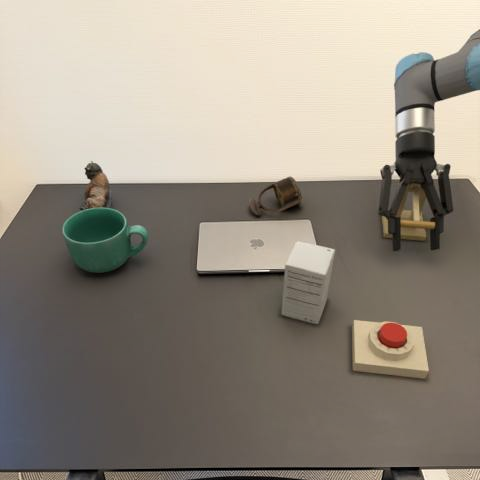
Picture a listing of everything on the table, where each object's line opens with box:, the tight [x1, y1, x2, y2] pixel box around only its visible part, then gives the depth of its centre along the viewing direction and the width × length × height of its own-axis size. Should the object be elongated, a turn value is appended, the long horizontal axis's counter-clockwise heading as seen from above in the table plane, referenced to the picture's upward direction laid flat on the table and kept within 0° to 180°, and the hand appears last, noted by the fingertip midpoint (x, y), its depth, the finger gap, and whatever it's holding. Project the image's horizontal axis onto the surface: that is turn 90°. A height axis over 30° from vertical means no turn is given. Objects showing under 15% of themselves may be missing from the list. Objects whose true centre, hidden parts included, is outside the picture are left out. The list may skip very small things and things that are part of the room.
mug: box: [61, 207, 149, 274], centre depth 97 cm, size 17×13×10 cm
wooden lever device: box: [381, 184, 427, 242], centre depth 104 cm, size 10×9×13 cm
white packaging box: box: [281, 240, 336, 325], centre depth 86 cm, size 7×7×13 cm
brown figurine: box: [78, 160, 113, 212], centre depth 110 cm, size 12×7×10 cm, turn 5°
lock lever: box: [401, 183, 435, 230], centre depth 98 cm, size 13×7×2 cm, turn 171°
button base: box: [351, 319, 430, 380], centre depth 81 cm, size 12×10×4 cm
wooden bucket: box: [248, 175, 303, 216], centre depth 111 cm, size 7×13×10 cm
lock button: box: [378, 322, 407, 348], centre depth 79 cm, size 4×4×2 cm
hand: (415, 249), depth 96 cm, fingers closed on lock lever, 7 cm apart
